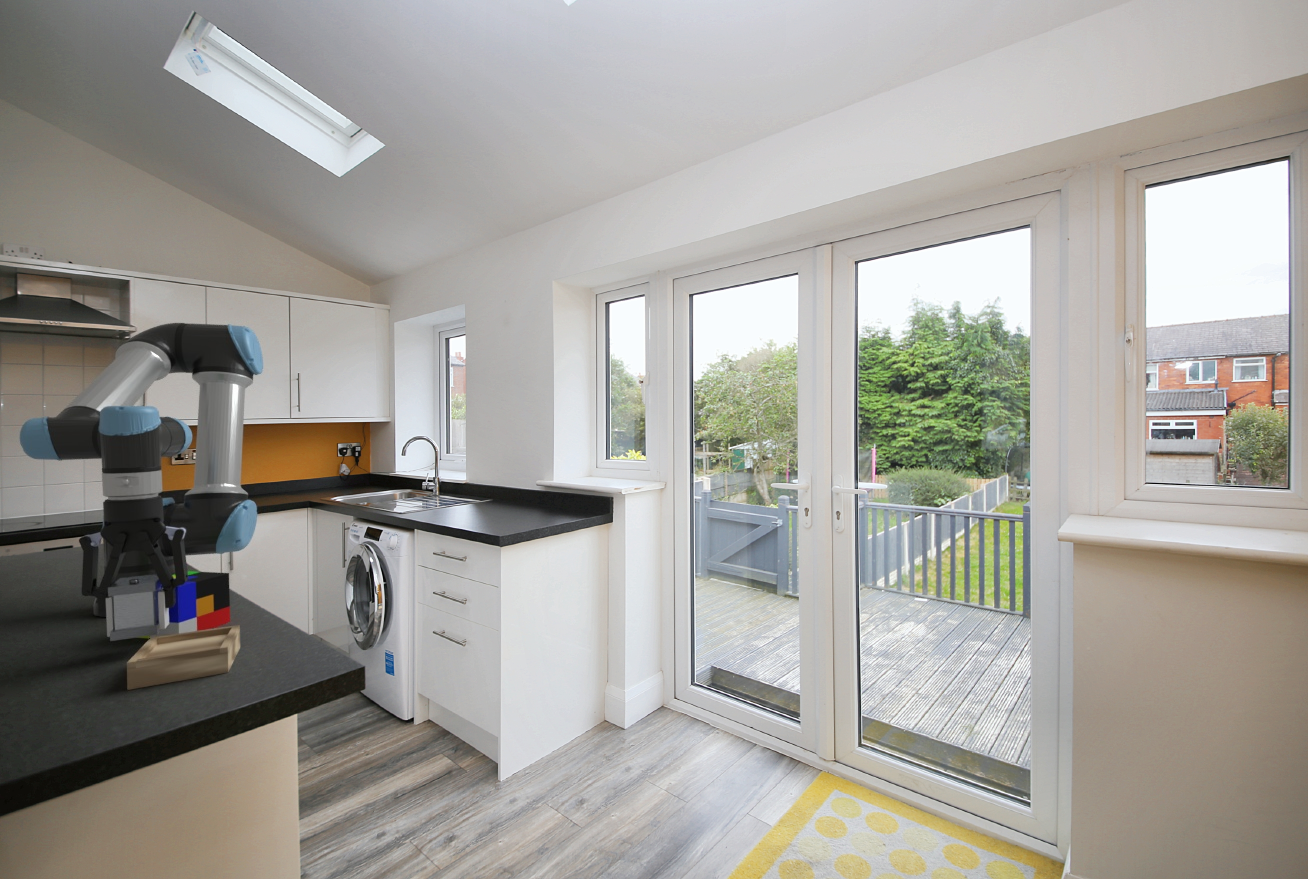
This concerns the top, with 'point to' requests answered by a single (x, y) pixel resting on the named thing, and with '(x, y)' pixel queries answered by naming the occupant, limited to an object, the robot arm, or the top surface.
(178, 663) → the tray
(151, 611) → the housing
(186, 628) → the puzzle toy
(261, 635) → the top surface
